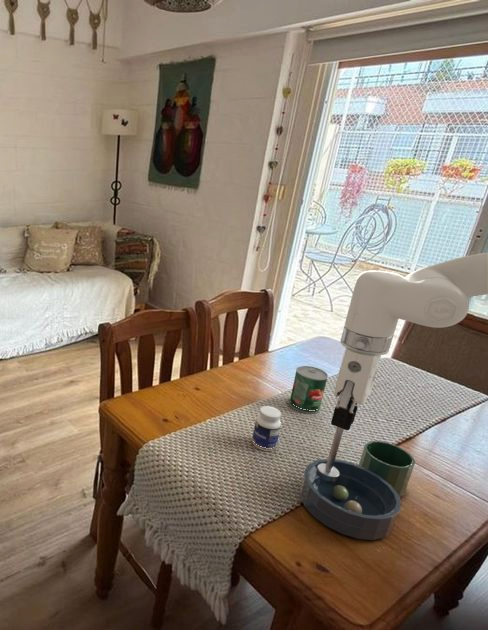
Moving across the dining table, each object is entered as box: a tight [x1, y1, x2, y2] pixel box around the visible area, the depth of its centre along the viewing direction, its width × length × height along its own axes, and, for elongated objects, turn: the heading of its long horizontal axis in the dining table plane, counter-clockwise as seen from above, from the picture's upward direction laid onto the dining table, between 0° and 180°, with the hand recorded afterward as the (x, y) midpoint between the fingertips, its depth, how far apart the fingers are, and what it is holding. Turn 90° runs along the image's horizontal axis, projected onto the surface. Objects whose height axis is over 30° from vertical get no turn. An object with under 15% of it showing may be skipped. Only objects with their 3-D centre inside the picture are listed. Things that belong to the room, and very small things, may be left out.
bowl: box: [299, 458, 402, 541], centre depth 90 cm, size 17×17×6 cm
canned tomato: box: [288, 365, 329, 415], centre depth 125 cm, size 8×8×11 cm
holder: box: [358, 440, 416, 498], centre depth 96 cm, size 9×9×8 cm
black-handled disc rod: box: [316, 401, 352, 481], centre depth 88 cm, size 4×4×18 cm
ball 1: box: [332, 485, 349, 501], centre depth 92 cm, size 3×3×3 cm
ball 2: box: [344, 500, 362, 514], centre depth 88 cm, size 3×3×3 cm
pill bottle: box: [251, 405, 282, 452], centre depth 108 cm, size 6×6×10 cm
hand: (341, 423), depth 86 cm, fingers closed on black-handled disc rod, 2 cm apart
